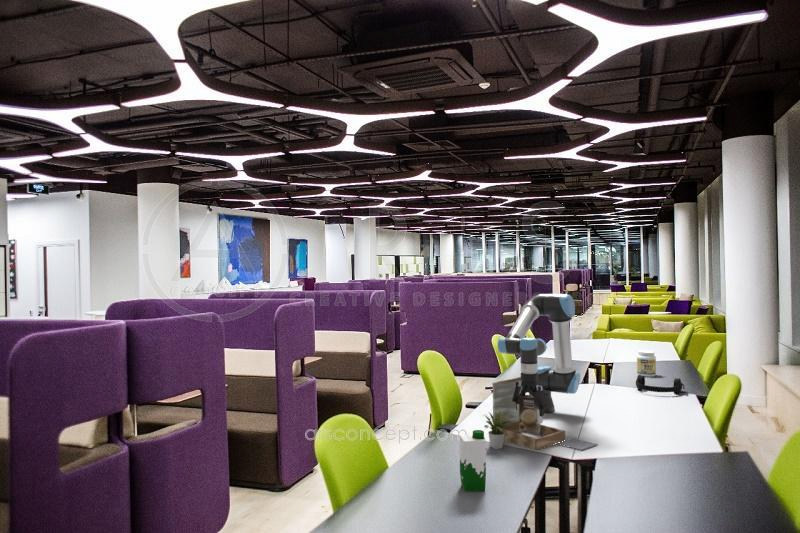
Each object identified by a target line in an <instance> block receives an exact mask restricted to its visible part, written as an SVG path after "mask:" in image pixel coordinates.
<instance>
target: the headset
mask: <svg viewBox="0 0 800 533" xmlns="http://www.w3.org/2000/svg"><path fill="white" fill-rule="evenodd" d="M672 382H673V386H655V385H653V386H652V385H646V377H644V376H642V375H638V374H637V377H636V380H635V387H636V388H637V390H638V391H647V392H654V393H674V394H677V395H679V394H681V392H682V390H685V384H684V383H683V382H682V381H681V378H680V377H679V378H678V377H677V378H676V377H675V378H674V379H673V380H672Z"/></svg>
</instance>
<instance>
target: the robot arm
mask: <svg viewBox="0 0 800 533" xmlns="http://www.w3.org/2000/svg"><path fill="white" fill-rule="evenodd" d="M575 310H576V304H575V301H574V299H573V297H572V295H570V294H566V293H565V294H564V293H539V294H536V295H532V297H530V298H529V299H528V300H527V301H525V302H524V303H523V305H522V307H521V310H520V314H519V316H518V317H517V319H516V321H515V323H514V324H513V326H512V327H511V329H510V330H509V332H508V334H507V335H506V337H505V336H504V337H500V338H498V340H497V350H498V353H501V354H508V355H520V377H521V381H522V382H521V381H518V382H516V388H515V392H514V395H513V399H512V401H513V402H515V403H516V410H517V418H518V419H519V397H520V395H521V396H522V395H527V393H528V395H532V396H533V397H534V399H535V401H536V403H537V405H538V407H539V409H537V418H538V424H543V423H544V422H543V421H544V418H543V417H544V416H545V415H544V414H545V413H553V412H554V411H555V403H554V400H553V397H552V392H554V393H561V394H570V395H571V394H573V395H574V394H576V393H577V391H578V389H579V385H580V380H581V375H580V372H579V371H577V370H576V369H577V368H576V366H574V365H573V356H572V344H571V330H570V328H571V327H570V323H571V321H572V319H573V317H574V316H575V314H576V311H575ZM541 316H543V317H548V322H550V323H551V324H552V337H553V339H552V340H553V348H554V350H553V351H554V352H553V353H554V363H555V365H554V367H553V368H552V367H551V366H549V365H548V366H547V365H543V366H538V357H539V356H542V355H543V354H544V353H545V352H546V351H547V344H546V342H545V340H543V339H542V338H535V337H526V335H527V333H528V332H529V331H530V328H531V327H532V324H533V323H534V321H535V320H537V319H538V318H539V317H541ZM521 386H522V390H521V393H520V389H521ZM519 393H520V394H519ZM538 399H539V400H538Z"/></svg>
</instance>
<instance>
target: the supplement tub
mask: <svg viewBox="0 0 800 533" xmlns="http://www.w3.org/2000/svg"><path fill="white" fill-rule="evenodd" d="M637 352H638V355H637V356H636V374H637V376H638V375H642V376H644V377H645V378H647V377H648V378H649V377H650V378H653V377H655V376H656V375H657V370H656V369H657V368H656V365H657V362H656V361H657V359H656V358H657V357H656V356H655V351H653V350H638V351H637Z"/></svg>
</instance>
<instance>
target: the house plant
mask: <svg viewBox="0 0 800 533" xmlns="http://www.w3.org/2000/svg"><path fill="white" fill-rule="evenodd" d="M500 412H501V411H499V412H498V414H497V413H496V411H495V421H494V417H493V413H491V412H490V411H489V412H488V414H489V415H490V416H488V415H486V414H482V416H484V417H485V418H486V419H487V420H486V421H485V423H487V424H488V425H487V424H485V425H484V428H485V429H491V430H489V431H488V437H489V438H488V439H489V443H490V444H489V445H490V447H492V449H495V448H496V449H495V450H497V449H498V450H499V448H500V449H502V448H503V446H504V441H505V440H504V435H505V432H503V431H502V430H503V429H502V426H503V425H504V424H505V423H508V422H515V421H504V422H503V420H505V418H509V417H507V416H508V415H509V414H508V415H506V416H505V417H504V418H503V419H502V420H501V421H500V422H499V419H500V417H501V415H502V414H503V412H502V413H501V414H500ZM489 425H490V426H489ZM504 426H505V427H504ZM504 426H503V428H510V427H508V426H510V425H507V426H506V425H504ZM501 429H502V430H501Z"/></svg>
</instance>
